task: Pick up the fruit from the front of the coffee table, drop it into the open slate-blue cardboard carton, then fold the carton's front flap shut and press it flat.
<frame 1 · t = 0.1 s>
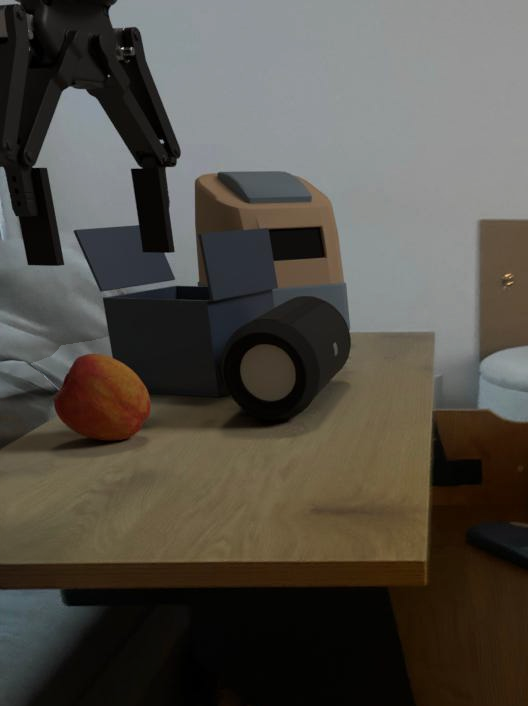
hand: (106, 258, 79), 17 cm above the table, tool pointing down, fingers open, 13 cm apart
portable speaker: (295, 402, 109), on the table
carton: (201, 383, 119), on the table
flap: (127, 256, 116), point 14 cm above the table, hinge at 110.0°
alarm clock: (278, 357, 137), on the table
fruit: (110, 441, 94), on the table
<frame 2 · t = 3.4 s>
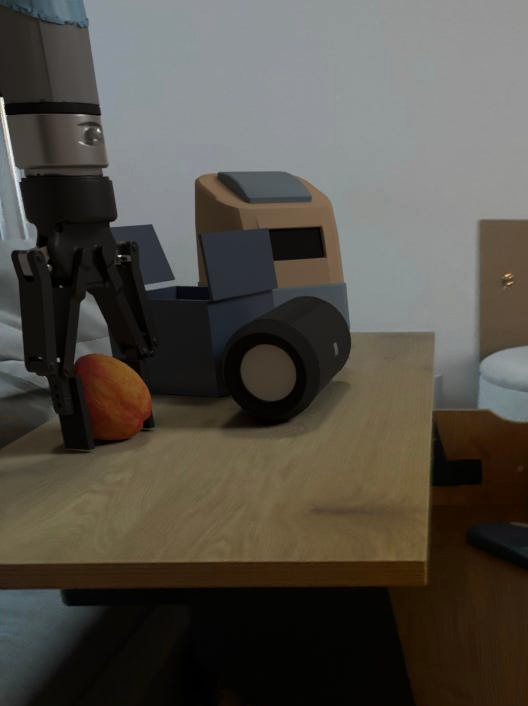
hand: (111, 437, 94), 0 cm above the table, tool pointing down, fingers closed on fruit, 8 cm apart
fruit: (112, 441, 94), on the table, touching gripper
everything else where it was.
when the fingers open (11 cm above the table, at t = 10.6 s): fruit stays where it is, resting on carton.
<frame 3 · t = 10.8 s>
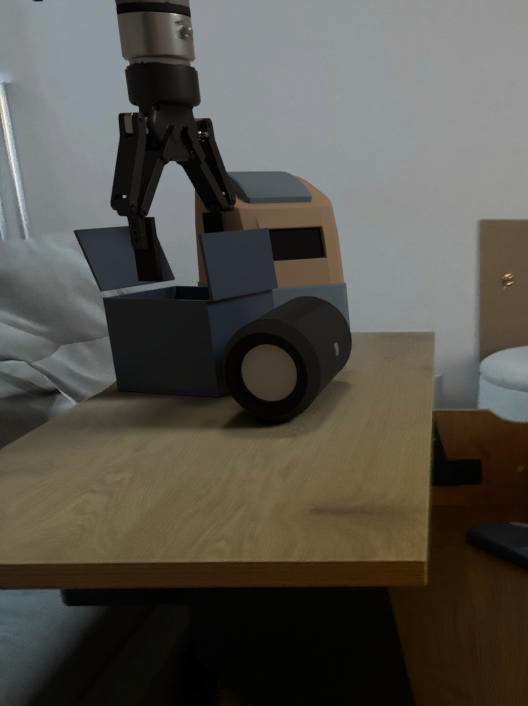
hand: (187, 276, 114), 12 cm above the table, tool pointing down, fingers open, 13 cm apart
fruit: (199, 381, 119), resting on carton
everything else where it was.
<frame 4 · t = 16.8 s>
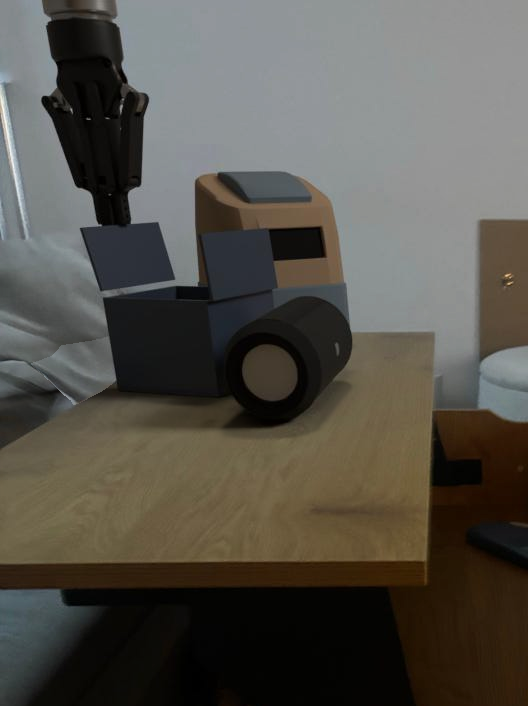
hand: (119, 255, 116), 14 cm above the table, tool pointing down, fingers closed
flap: (130, 255, 116), point 14 cm above the table, hinge at 101.7°, touching gripper
everything else where it was.
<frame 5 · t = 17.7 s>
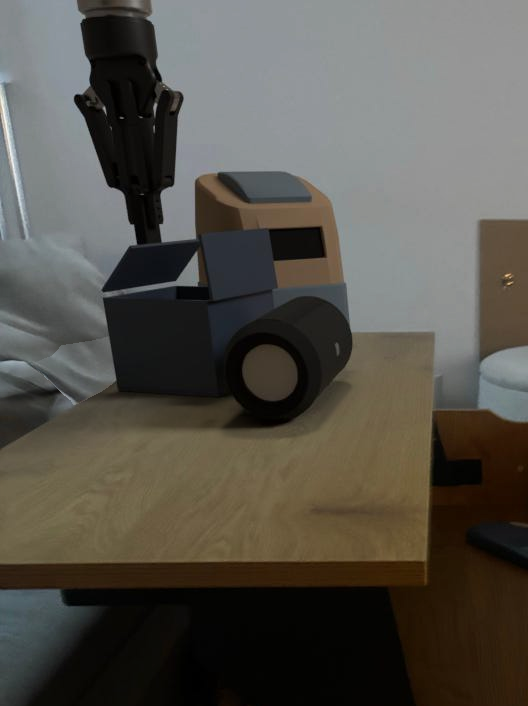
hand: (151, 255, 115), 14 cm above the table, tool pointing down, fingers closed
flap: (154, 264, 115), point 13 cm above the table, hinge at 44.4°, touching gripper
everything else where it was.
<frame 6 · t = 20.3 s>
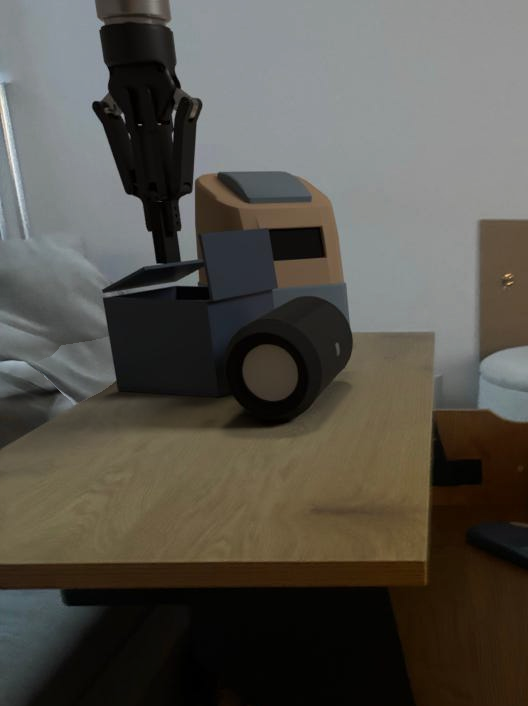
hand: (168, 262, 114), 14 cm above the table, tool pointing down, fingers closed
flap: (160, 274, 115), point 12 cm above the table, hinge at 22.5°, touching gripper
everything else where it was.
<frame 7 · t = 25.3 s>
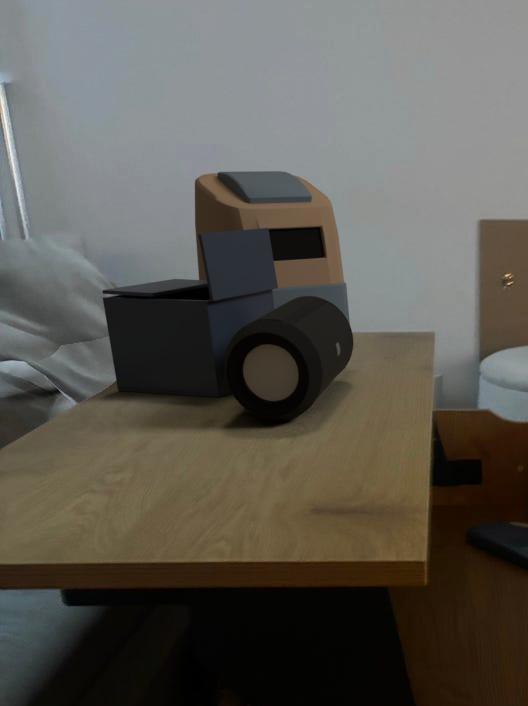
flap: (164, 287, 116), point 11 cm above the table, hinge at -1.2°
everything else where it was.
at the end: fruit inside the target area in the carton (0.2 cm from its centre), point 0.2 cm above the carton's base; flap at -1° (first picture: +110°) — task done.
